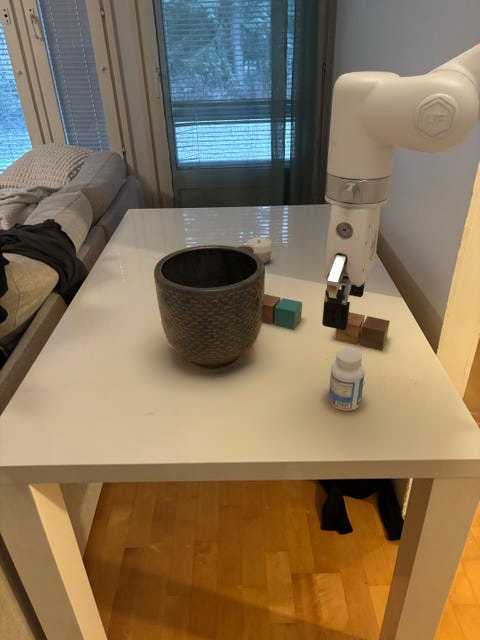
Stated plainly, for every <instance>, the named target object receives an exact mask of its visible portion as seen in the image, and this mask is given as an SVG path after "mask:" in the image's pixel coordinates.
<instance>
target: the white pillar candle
mask: <svg viewBox="0 0 480 640" xmlns="http://www.w3.org/2000/svg"><path fill="white" fill-rule="evenodd" d="M245 246H248V247H251V248H253V250H254V254H256V255H257V256H258V257H260V258H261V260H262V261H263V263H264V264H266V263H268V262H269V260H270V258H271V256H272V253H273V249H274V244H273V241H272V240H270V239H269V238H267V237H253V238H250V239H247V241H246V245H245Z"/></svg>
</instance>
